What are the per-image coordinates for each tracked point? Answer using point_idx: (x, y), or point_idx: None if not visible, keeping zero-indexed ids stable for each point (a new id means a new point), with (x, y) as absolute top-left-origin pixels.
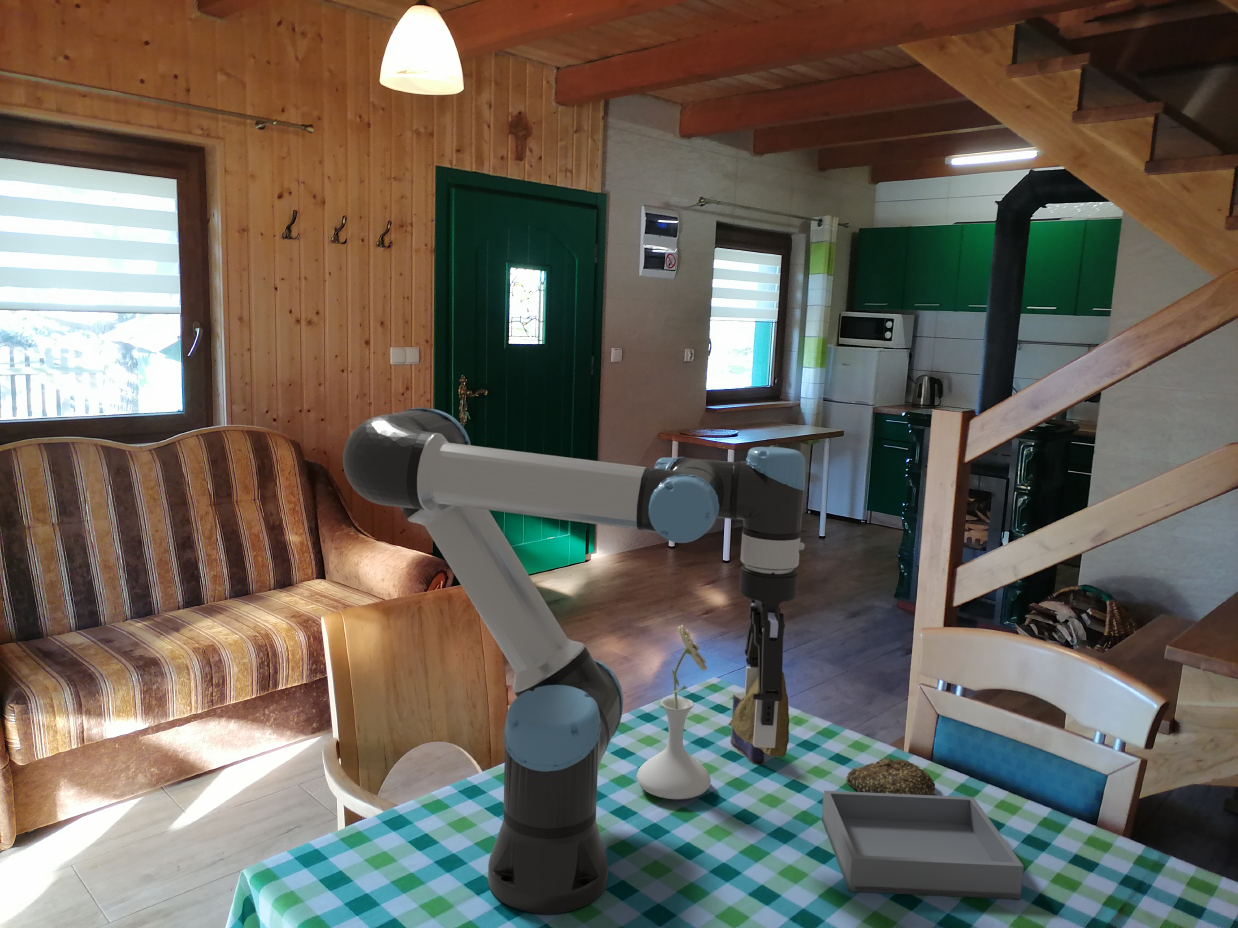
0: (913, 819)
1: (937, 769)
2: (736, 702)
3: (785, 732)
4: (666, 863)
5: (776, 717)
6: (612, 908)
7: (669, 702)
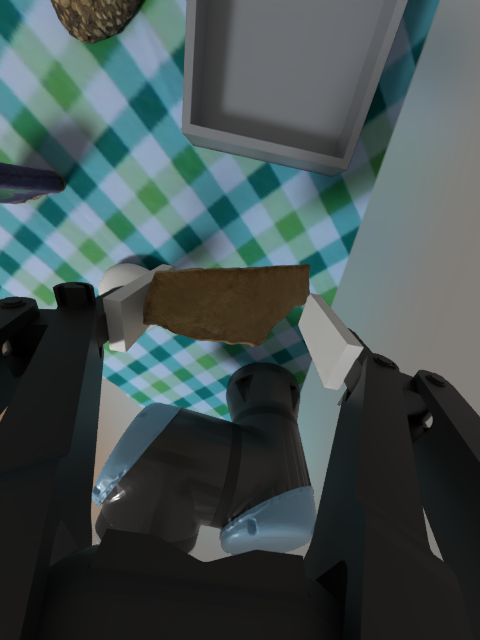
0: None
1: None
2: None
3: (304, 273)
4: None
5: (341, 322)
6: (300, 365)
7: None
